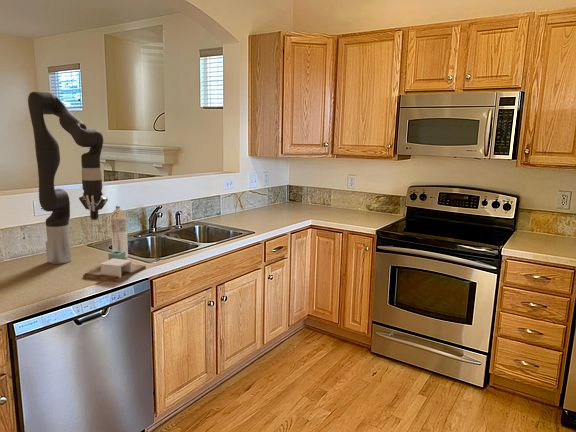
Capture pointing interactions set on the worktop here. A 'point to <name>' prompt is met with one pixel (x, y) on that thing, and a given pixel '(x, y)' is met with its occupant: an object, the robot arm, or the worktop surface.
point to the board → (97, 275)
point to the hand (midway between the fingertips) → (94, 219)
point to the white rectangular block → (116, 267)
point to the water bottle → (119, 231)
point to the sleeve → (117, 255)
